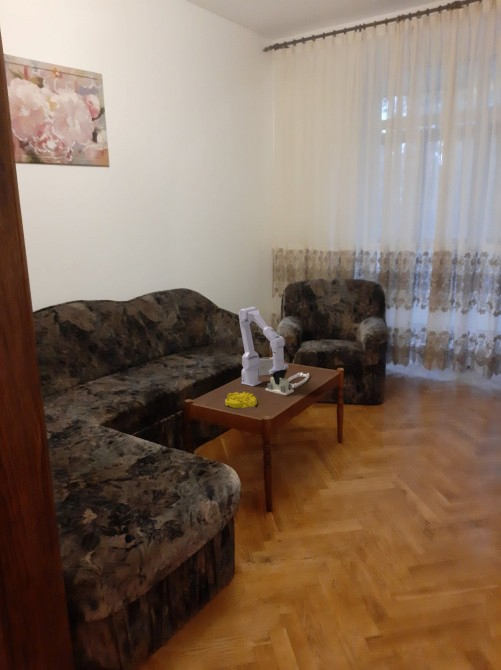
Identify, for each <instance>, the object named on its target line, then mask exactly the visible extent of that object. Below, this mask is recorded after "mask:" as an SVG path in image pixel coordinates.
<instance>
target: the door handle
mask: <svg viewBox="0 0 501 670" xmlns="http://www.w3.org/2000/svg"><path fill="white" fill-rule="evenodd" d="M300 377H301V378H304V379H302V380H301V381H299V382H294V383H290V382H291V381H292V380H294V379H297V378H300ZM309 378H310V373H309V372H307V373H304V372H303V371H302V372H297V373H296V374H294V375H291V376H290V377H288V378H287V379H288V384H291V389H293V390H294V389H296V388H298V387H300V386H302V385H303V384H305V383H306V381H308V379H309Z"/></svg>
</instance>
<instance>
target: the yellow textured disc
mask: <svg viewBox="0 0 501 670" xmlns="http://www.w3.org/2000/svg"><path fill="white" fill-rule="evenodd" d="M224 402H225V406H226V407H227V406H229V407H230V408H233V409H245V408H248V407H249V408H250V407H256V405H258V400H257V397H256V396H255V395H254V394H253V393H250V392H246V391H243V392H240V393H239V392H238V391H236V392H233V393H231V392H229V393H228V394H227V395H226V399H224Z"/></svg>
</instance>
